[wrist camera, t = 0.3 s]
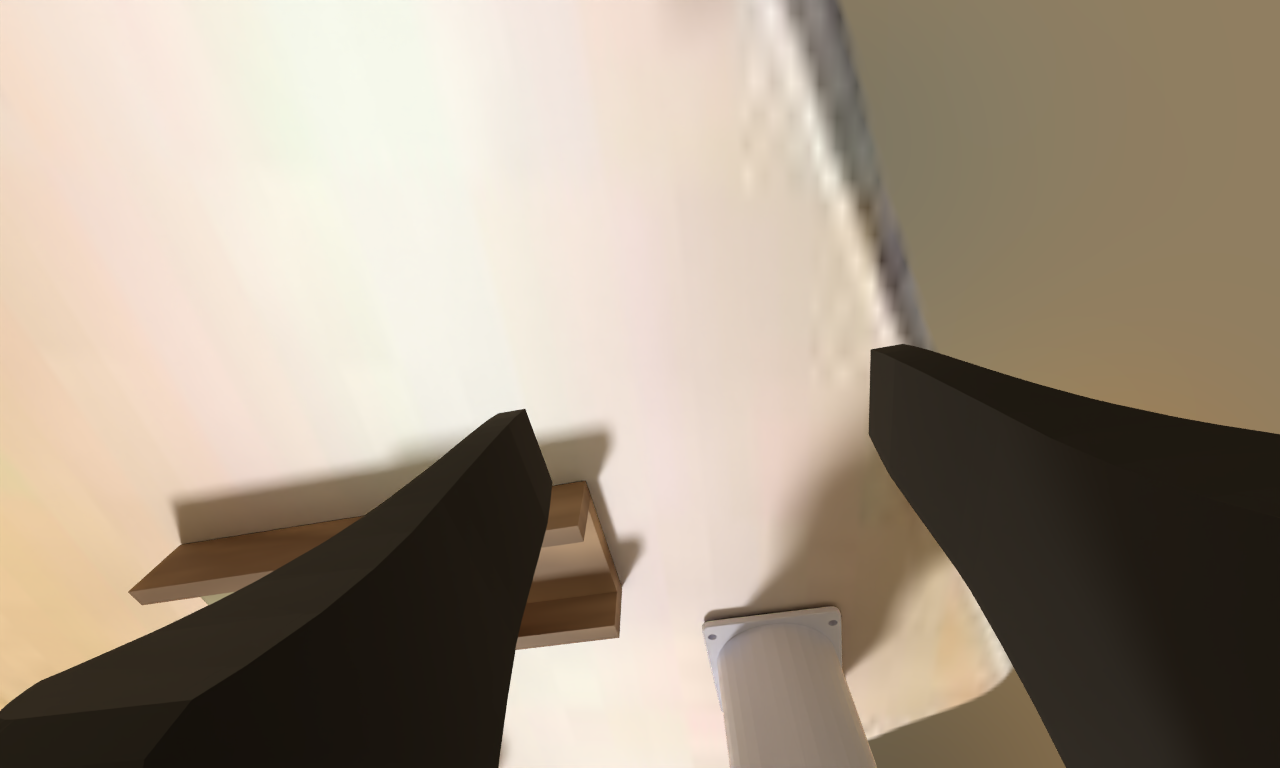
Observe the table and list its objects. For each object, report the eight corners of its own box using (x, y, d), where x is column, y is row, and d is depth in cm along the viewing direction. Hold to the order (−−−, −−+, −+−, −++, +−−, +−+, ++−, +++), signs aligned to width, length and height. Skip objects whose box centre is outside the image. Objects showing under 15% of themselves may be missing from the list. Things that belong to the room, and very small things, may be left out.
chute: (621, 588, 27) (619, 637, 25) (264, 635, 30) (226, 684, 27) (585, 480, 24) (577, 525, 21) (180, 544, 26) (127, 592, 24)
